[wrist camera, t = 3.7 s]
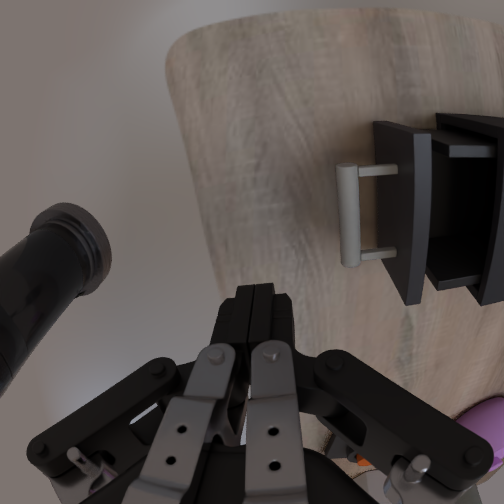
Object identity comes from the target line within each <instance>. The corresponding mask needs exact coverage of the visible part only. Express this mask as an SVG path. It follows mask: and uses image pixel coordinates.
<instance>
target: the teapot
mask: <svg viewBox="0 0 504 504" xmlns="http://www.w3.org/2000/svg"><path fill="white" fill-rule="evenodd" d="M456 422H457V423H459V424H461V425H462V426H464V427H466V428H467V429H469V430H471V431H472V432H474V433H475V434H477V435H479V436H480V437H482V438H484V439H485V440H487V441H488V442H489V443H490V445H491V446H492V448H493V451H494V461H493V464H492V466H491V468H490V470H489V471H492V470H494V469H496V468H498V467H499V466H500V465H501V464H502V463H503V462H502V461H501V459H502V458H503V457H504V398H502V397H496V398H492V399H489V400H487V401H484V402H482V403H480V404H478V405H477V406H475V407H473V408H472V409H470V410H469V411H467V412H466V413H464V414H463V415H462V416H461V417H460V418H458V419H457V420H456ZM489 471H488V472H489Z"/></svg>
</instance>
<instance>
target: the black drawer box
mask: <svg viewBox="0 0 504 504" xmlns="http://www.w3.org/2000/svg"><path fill="white" fill-rule="evenodd" d="M436 122H437V130H470V131H474V132H477V133H481V134H484V135H487V136H491V137H494V138H497V139H498V150H497V176H496V190H495V201H494V210H493V218H492V225H491V232H490V239H489V245H488V250H487V256H486V261H485V266H484V270H483V275H482V279H481V283H478V284H473V285H467V286H466V287H467V289H468V290H469V291H470V293H471V294H472V295H473V296H474V298H475V299H476V300H477V302H478V303H479V305H480V306H484V305H488V304H492V303H496V302H500V301H504V118H500V117H491V116H480V115H467V114H450V113H436Z"/></svg>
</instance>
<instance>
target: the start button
mask: <svg viewBox="0 0 504 504" xmlns="http://www.w3.org/2000/svg"><path fill="white" fill-rule="evenodd" d="M356 456H357V464H358V465H359V466H368V465H372V464H370V463H369V462H368V461H367V460H365V459H364V458H363V457H362V456H360V455H359V454H357V455H356Z"/></svg>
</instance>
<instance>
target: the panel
mask: <svg viewBox="0 0 504 504" xmlns="http://www.w3.org/2000/svg"><path fill="white" fill-rule="evenodd" d="M357 454H358V453H357V452H355V451H354V450H353V449H352V448H351V447H349V446H348V445H347V444H346V443H345V442H343V441H342V440H341V439H340V438H339V437H337V436H336V435H335V434H334V433H333V434H332V436H331V438H330V440H329V443H328V445H327V447H326V449H325V456H326V457H328V458H329V459H335V458H347V459H348V460H349V461H350V462H354V463H357V456H356V455H357Z"/></svg>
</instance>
